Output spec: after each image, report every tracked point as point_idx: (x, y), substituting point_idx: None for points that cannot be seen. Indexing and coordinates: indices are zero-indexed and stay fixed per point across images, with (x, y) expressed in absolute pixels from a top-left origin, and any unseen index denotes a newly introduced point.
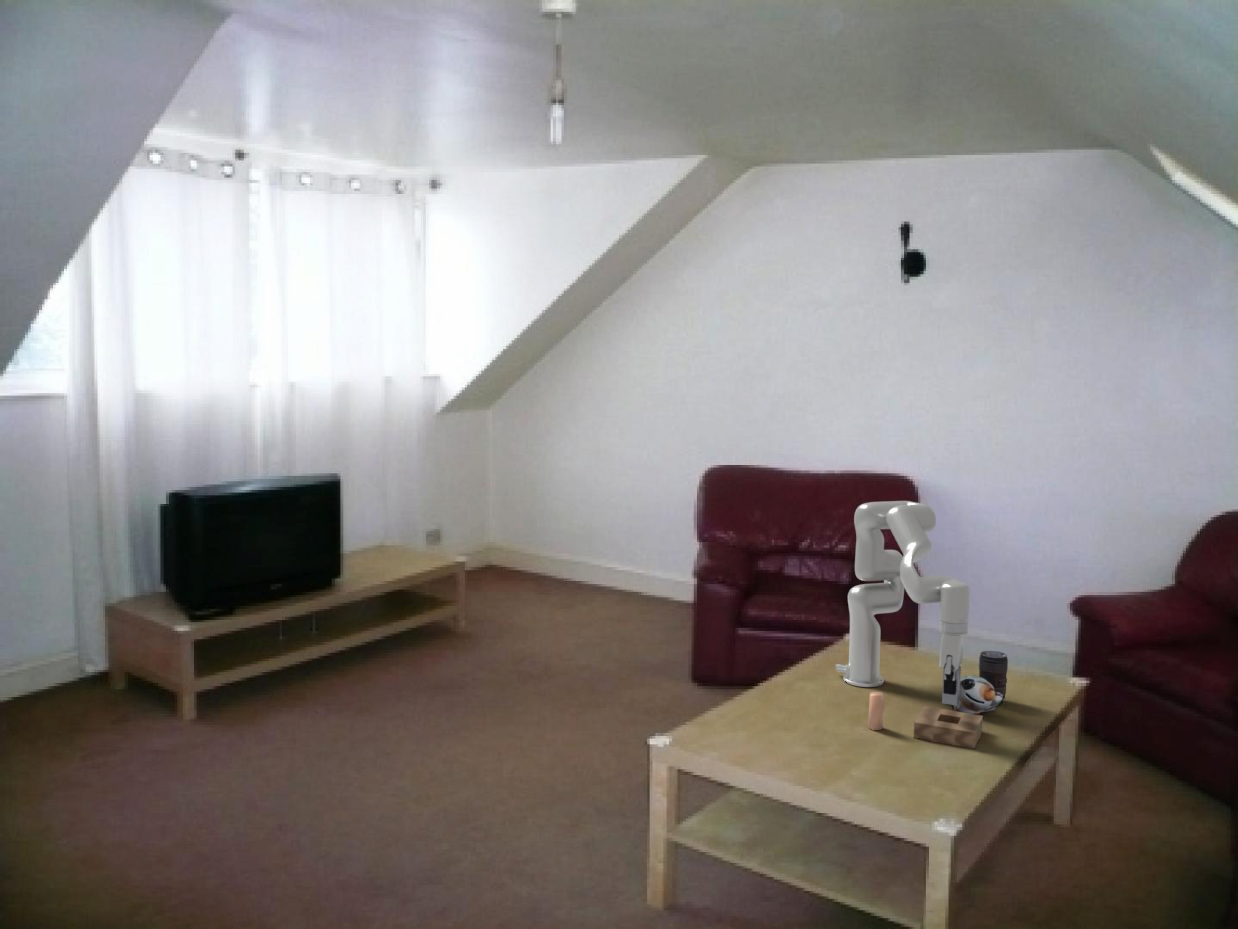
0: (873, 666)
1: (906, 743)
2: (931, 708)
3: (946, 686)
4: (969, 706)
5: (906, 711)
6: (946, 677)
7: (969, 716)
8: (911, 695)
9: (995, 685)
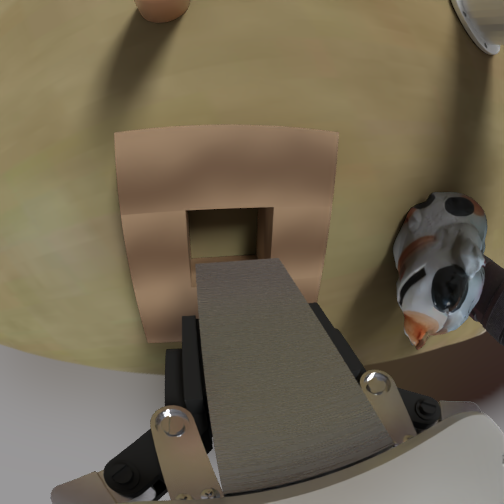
0: (501, 24)
1: (76, 128)
2: (323, 162)
3: (166, 374)
4: (404, 259)
5: (371, 75)
6: (128, 450)
7: None
8: (461, 100)
9: None
